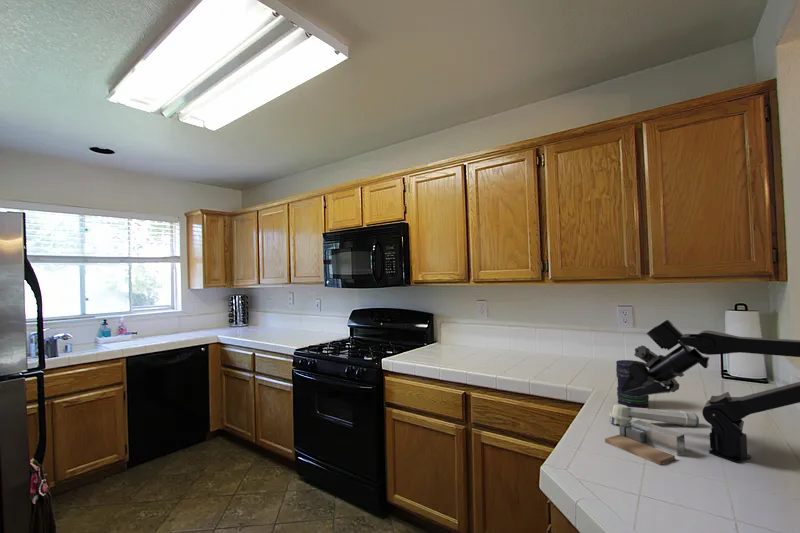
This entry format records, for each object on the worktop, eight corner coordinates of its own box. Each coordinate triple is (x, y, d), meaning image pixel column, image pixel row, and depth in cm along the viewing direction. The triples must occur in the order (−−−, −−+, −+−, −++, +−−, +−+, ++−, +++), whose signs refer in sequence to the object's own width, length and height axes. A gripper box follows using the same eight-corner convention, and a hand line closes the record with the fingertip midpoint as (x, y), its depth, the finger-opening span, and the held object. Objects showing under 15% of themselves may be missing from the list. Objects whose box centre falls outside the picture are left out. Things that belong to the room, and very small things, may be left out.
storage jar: (611, 402, 142) (609, 361, 142) (629, 398, 146) (627, 359, 146) (637, 410, 133) (635, 367, 133) (655, 406, 137) (653, 364, 137)
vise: (659, 439, 109) (659, 427, 109) (640, 445, 105) (639, 433, 105) (639, 432, 114) (638, 420, 114) (619, 438, 111) (619, 425, 111)
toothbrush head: (701, 416, 116) (615, 403, 119) (699, 438, 116) (612, 425, 119) (690, 410, 122) (607, 398, 124) (688, 431, 122) (605, 418, 124)
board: (674, 459, 97) (674, 455, 97) (660, 465, 95) (660, 460, 95) (619, 438, 111) (619, 434, 111) (605, 442, 108) (605, 438, 108)
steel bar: (685, 453, 101) (684, 434, 101) (677, 456, 99) (676, 436, 99) (639, 437, 111) (638, 419, 112) (632, 439, 110) (631, 422, 110)
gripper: (672, 345, 117) (630, 373, 125) (639, 333, 108) (596, 364, 116) (699, 377, 109) (653, 405, 117) (666, 367, 100) (618, 398, 108)
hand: (630, 392), depth 114 cm, fingers open, 9 cm apart
